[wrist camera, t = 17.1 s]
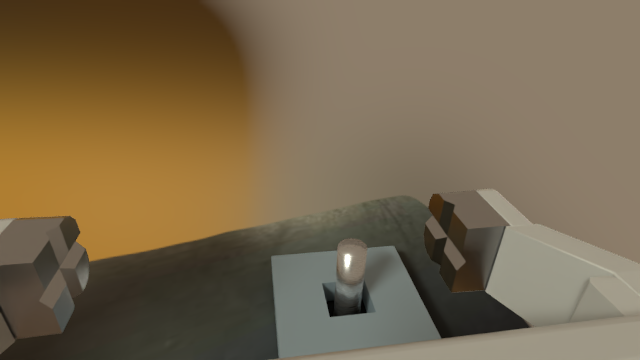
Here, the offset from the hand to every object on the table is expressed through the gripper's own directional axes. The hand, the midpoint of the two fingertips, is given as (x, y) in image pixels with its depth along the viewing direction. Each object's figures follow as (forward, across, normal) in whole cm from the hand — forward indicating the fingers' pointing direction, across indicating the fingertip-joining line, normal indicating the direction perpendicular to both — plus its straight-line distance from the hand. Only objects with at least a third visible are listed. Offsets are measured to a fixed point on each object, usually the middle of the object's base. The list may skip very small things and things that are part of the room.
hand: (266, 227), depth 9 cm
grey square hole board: (+23, +9, -30) cm, 39 cm away
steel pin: (+23, +9, -30) cm, 39 cm away
